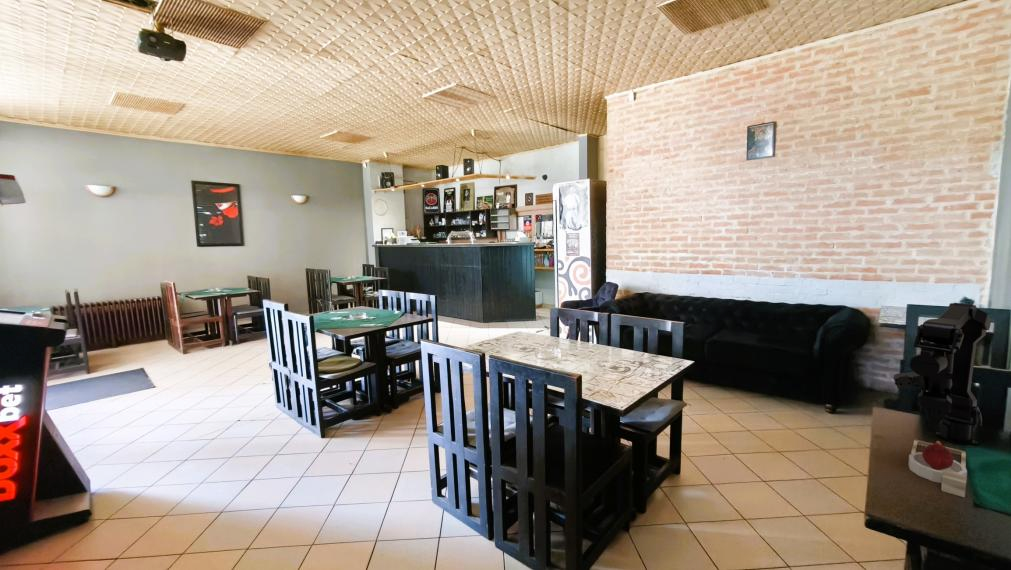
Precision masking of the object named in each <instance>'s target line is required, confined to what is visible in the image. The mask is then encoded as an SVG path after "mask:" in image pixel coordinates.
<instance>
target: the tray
mask: <svg viewBox="0 0 1011 570" xmlns="http://www.w3.org/2000/svg"><path fill="white" fill-rule="evenodd" d="M932 444H933V443H932V442H927V441H923V440H919V439H916V438H915V439H914V440H913V444H912V448H911V452H910V454H912V453H914V452H917V450H916V449H918V446H920V445H921V446H920V447H924V446H925V447H924V448H926V447H927V446H929V445H932ZM943 446H944V445H943ZM944 447H945V448H947V449H948V450H949V451H950V452H951V454H952V455H953V454H954V455H958V456H960V457H961V458H960V464H962V465H963V466H965V468H966V462H967V459H966V458H967V457H966V456H967V452H966V451H964V450H961V449H956V448H952V447H948V446H944ZM966 469H967V468H966Z"/></svg>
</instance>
